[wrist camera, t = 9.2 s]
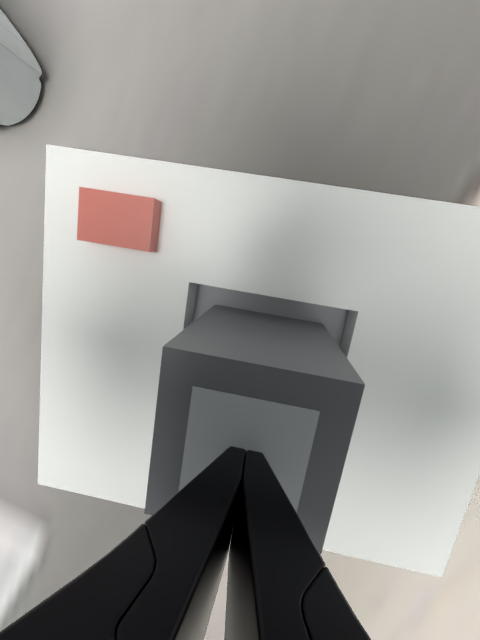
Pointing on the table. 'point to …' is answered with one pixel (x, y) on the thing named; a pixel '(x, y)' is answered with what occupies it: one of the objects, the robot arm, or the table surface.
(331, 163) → the table surface
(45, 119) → the table surface
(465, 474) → the socket plate
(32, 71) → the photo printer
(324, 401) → the plug
